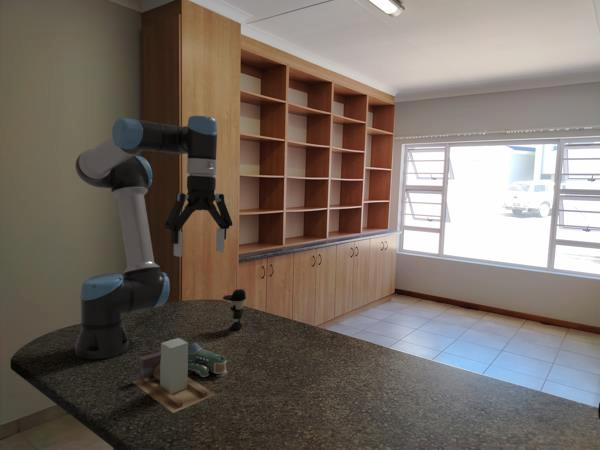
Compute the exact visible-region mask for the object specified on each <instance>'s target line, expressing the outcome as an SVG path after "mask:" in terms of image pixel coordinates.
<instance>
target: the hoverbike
mask: <svg viewBox="0 0 600 450" xmlns="http://www.w3.org/2000/svg"><path fill="white" fill-rule="evenodd" d="M170 340H172V339H169V340H168V341H170ZM205 345H206V344H205V343H203V344H202V345H201V346H200V345H199V344H198V343H197V342H193V344H191V346H188V375H189V374H194V373H195V374H197V375H198V377H199V378H205V377H208V376H209V375H210V373H209V372H211V373H213V374H217V375H216V376H215V377H216V378H224V377H225V376H227V375H228V374H229V371H228V370H227V359H226V357H225V356H223V355H222V354H220V353H219V354H218V353H216V352H212V351H209V350H207V349H205ZM202 347H203V348H202ZM157 352H161V345H160V346H159V347H158V350H157Z"/></svg>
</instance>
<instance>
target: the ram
mask: <svg viewBox="0 0 600 450" xmlns="http://www.w3.org/2000/svg"><path fill="white" fill-rule="evenodd" d="M169 340H170V339H169ZM169 340H167V341H163V342H161V343H160V344H161V345H160V346H161V360H160V387H162V388H163V389H165V390H166V391H167V392H169V393H170V394H173V393H175V392H178V391H180V390H183V389H185V388H187V381H188V377H189V376H188V375H189V373H188V347H189V342H187V341H186V340H184V339H182V338H179V337H177V338H174V339H171V340H170V341H169Z"/></svg>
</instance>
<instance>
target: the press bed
mask: <svg viewBox="0 0 600 450" xmlns="http://www.w3.org/2000/svg"><path fill="white" fill-rule="evenodd" d="M160 360H161V352H158V351H157V352H155V353H152V354H151V353H150V354H148V355H144V356H141V357H139V370H138V371H139V373H138V374H139V379H137V380H134V381H132V383H133V384H134V385H135V386H136V387H138V388H139V389H141V390H142V391H143V392H144V393H146V394H147V395H148V396H150V397H151V398H152V399H153V400H155V401H156V402H158V403H159V404H160V405H161V406H163V407H165V409H167V410H168V411H170V412H171V413H172V414H175V413H177V412H179V411H181V410H184V409H186V408H188V407H190V406H193V405H195V404H199V403H200V402H203V401H204V400H207V399H210V398H211V397H213V396H217V395H216V393H214V392H212V391H211V390H209V389H208V388H206V387H205V386H202V385H201V384H200V383H199V382H197V381H195V380H194V379H192V378H190V377H189V376H188V381H187V388H185V389H183V390H180V391H178V392H175V393H173V394H170V393H169V392H167V391H166V390H165V389H163V388H162V387H160V381H157V380H156V379H155V378H154V375H153V372H154V369H155V368H156V367H157V366H158V365H160Z"/></svg>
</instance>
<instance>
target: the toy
mask: <svg viewBox="0 0 600 450" xmlns="http://www.w3.org/2000/svg"><path fill="white" fill-rule="evenodd" d="M246 298H247V296H246V292H245V289H241V288H238V289H235V290H234V291H233V292H232V294H229V295H228V294H227V295H224V296H222V299H223V300H225V301H228V302H230V310H231V311H232V312H233V315H232V319H231V320H232V321H231V322H232V323H231V326H230V327H229V329H230V330H234V331H239V330H241V328H242V327H243V324H242V322H241V320H242V318H243V316H244V306H245V300H246Z"/></svg>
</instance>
